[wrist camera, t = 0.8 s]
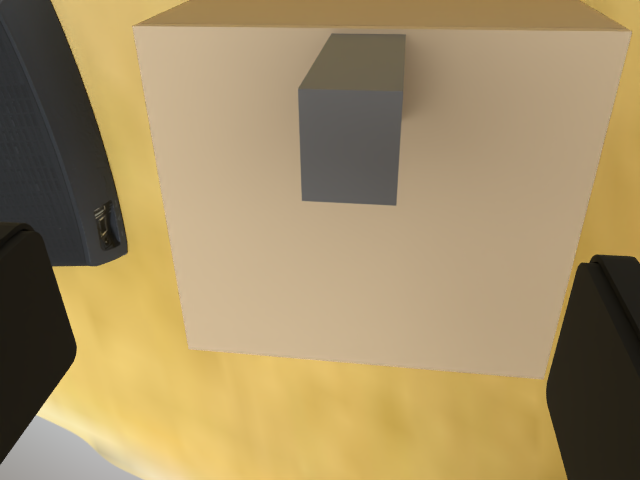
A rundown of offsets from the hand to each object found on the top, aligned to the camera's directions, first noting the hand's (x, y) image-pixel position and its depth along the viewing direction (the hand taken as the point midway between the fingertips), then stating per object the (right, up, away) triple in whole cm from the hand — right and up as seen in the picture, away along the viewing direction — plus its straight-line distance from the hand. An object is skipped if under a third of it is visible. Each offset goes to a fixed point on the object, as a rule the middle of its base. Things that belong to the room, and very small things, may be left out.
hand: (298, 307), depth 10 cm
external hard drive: (-21, +9, +30) cm, 38 cm away
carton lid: (+3, +2, +18) cm, 18 cm away
